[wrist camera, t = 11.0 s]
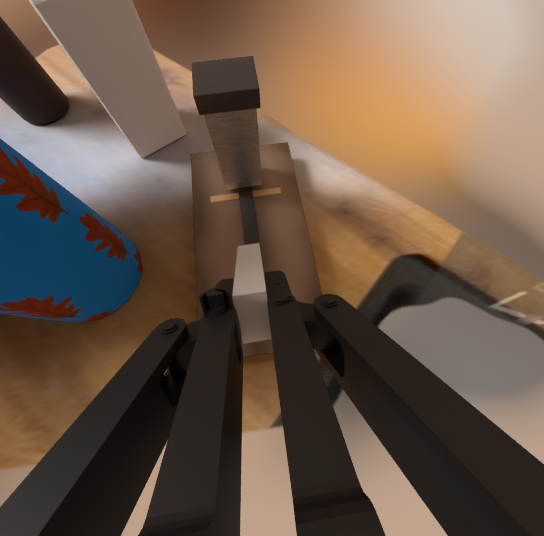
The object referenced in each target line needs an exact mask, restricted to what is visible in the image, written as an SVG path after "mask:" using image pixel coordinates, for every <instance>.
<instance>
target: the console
mask: <svg viewBox="0 0 544 536" xmlns="http://www.w3.org/2000/svg"><path fill="white" fill-rule="evenodd" d="M259 150H260V162H261V175H262V185H260V186H252V187H245V188H237V189H230V190H227V188H226V185H225V182H224V178H223V175H222V172H221V168H220V165H219V162H218V159H217V155H216V152H207V153H199V154H191V168H192V192H193V217H194V242H195V267H196V291H197V316H198V320H200V319H201V318H202V317H203V314H204V312H203V309H202V306H201V303H200V299H199V297H200V295H201V294H202V293H203V292H205V291H207V290H209V289H212V288H216V284H217V283H218V282H219V281H220V280H222V279H229V278H234V276H235V267H236V258H237V249H238V246H242V245H249V244H256V243H259V245H260V252H261V258H262V265H263V271H264V273H265V272H271V271H278V270H281V271H282V272H284V273H285V275H286V278H287V281H288V284H289V287H290V290H291V293H292V295H293V296H294V297H295V298H296V300H297V301H299V302H303V303H314V299H315V298H316V297H318V296H320V295H322V292H321V288H320V283H319V279H318V274H317V270H316V266H315V261H314V257H313V252H312V248H311V244H310V239H309V235H308V230H307V226H306V222H305V217H304V213H303V208H302V204H301V199H300V195H299V191H298V186H297V182H296V177H295V173H294V169H293V164H292V160H291V155H290V151H289V146H288V142H286V143H278V144H270V145H262V146H259ZM241 345H242V349H243V357H246V356H252V355H258V354H265V353H271V352H273V346H272V339H270V340H264V341H257V342H251V343H245V344H243V342H242V337H241Z"/></svg>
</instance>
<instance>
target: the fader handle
mask: <svg viewBox="0 0 544 536" xmlns="http://www.w3.org/2000/svg"><path fill="white" fill-rule="evenodd" d="M192 79H193V96H194V99H195V103H196V106H197V109H198V112H199V115H204V116H205V119H206V122H207V125H208V129H209V132H210V135H211V139H212V142H213V145H214V149H215V152H216V155H217V159H218V162H219V165H220V168H221V172H222V175H223V178H224V182H225V185H226V188H227V190H230V189H237V188H245V187H252V186H260V185H262V175H261V162H260V150H259V137H258V125H257V112H256V108H260V94H259V85H258V80H257V75H256V69H255V64H254V59H253V56H249V57H240V58H231V59H222V60H213V61H204V62H195V63H192Z"/></svg>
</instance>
